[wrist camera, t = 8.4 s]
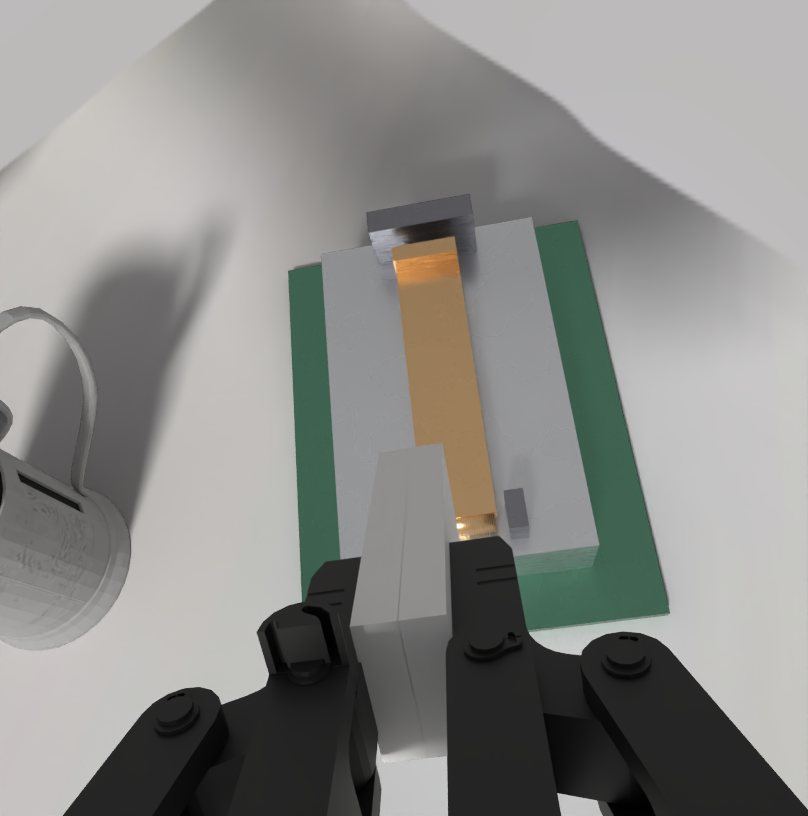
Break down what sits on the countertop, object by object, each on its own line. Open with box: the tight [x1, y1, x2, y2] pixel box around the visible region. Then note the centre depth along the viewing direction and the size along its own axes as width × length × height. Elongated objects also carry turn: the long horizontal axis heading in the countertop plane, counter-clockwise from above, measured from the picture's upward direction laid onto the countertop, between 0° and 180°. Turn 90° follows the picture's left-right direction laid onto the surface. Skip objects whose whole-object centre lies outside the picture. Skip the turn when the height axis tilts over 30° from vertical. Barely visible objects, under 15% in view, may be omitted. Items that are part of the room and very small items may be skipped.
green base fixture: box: [288, 194, 670, 632], centre depth 37 cm, size 22×17×8 cm
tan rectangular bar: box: [391, 236, 497, 537], centre depth 34 cm, size 14×3×2 cm, turn 6°
